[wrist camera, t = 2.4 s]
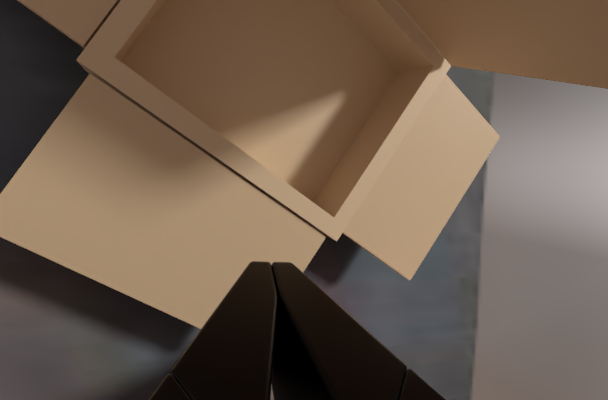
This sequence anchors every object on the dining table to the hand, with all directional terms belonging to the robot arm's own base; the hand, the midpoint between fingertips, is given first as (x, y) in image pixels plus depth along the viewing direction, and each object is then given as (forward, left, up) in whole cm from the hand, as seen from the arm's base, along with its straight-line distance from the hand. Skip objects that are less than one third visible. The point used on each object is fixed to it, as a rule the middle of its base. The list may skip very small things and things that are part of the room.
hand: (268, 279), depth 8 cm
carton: (+3, -1, -11) cm, 12 cm away
